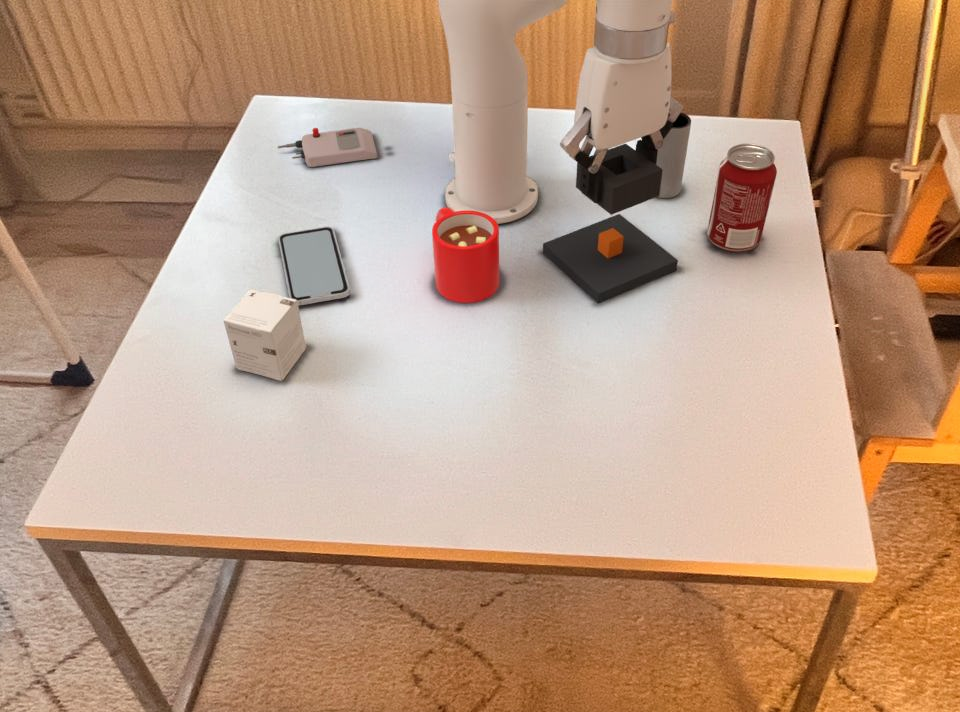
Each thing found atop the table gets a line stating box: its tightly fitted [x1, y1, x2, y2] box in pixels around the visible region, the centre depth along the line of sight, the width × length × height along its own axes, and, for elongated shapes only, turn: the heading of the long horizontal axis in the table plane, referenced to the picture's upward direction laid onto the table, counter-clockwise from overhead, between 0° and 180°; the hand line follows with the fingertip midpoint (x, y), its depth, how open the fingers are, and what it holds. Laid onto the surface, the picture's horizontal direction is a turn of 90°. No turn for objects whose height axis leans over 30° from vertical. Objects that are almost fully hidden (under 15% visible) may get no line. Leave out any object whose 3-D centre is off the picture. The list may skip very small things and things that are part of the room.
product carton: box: [223, 288, 307, 382], centre depth 103 cm, size 6×6×7 cm
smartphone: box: [277, 226, 351, 306], centre depth 117 cm, size 7×1×15 cm
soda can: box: [706, 143, 778, 252], centre depth 114 cm, size 7×7×12 cm
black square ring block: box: [575, 143, 663, 216], centre depth 108 cm, size 7×7×4 cm
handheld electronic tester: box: [277, 127, 386, 168], centre depth 134 cm, size 7×16×3 cm, turn 102°
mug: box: [431, 206, 501, 304], centre depth 113 cm, size 8×12×8 cm, turn 28°
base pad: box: [542, 213, 679, 304], centre depth 115 cm, size 12×12×4 cm
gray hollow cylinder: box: [656, 111, 692, 199], centre depth 123 cm, size 4×4×10 cm
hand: (617, 185), depth 108 cm, fingers closed on black square ring block, 7 cm apart
